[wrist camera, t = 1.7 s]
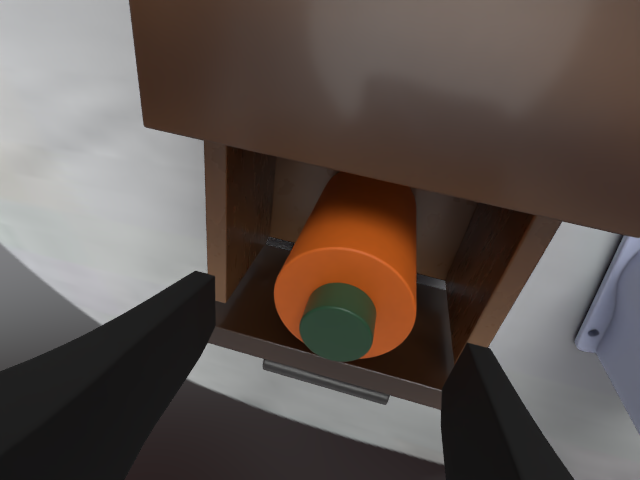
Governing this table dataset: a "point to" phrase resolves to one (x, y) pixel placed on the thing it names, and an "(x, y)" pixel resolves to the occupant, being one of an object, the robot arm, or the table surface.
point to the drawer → (431, 260)
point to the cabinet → (414, 93)
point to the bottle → (352, 271)
